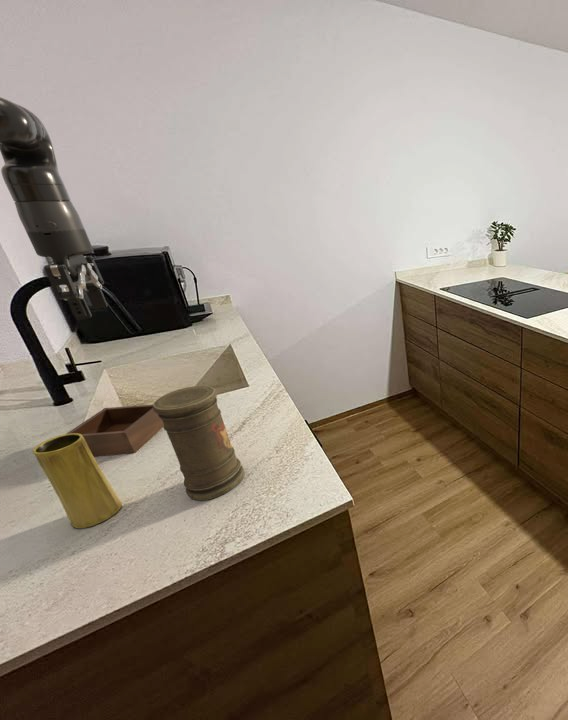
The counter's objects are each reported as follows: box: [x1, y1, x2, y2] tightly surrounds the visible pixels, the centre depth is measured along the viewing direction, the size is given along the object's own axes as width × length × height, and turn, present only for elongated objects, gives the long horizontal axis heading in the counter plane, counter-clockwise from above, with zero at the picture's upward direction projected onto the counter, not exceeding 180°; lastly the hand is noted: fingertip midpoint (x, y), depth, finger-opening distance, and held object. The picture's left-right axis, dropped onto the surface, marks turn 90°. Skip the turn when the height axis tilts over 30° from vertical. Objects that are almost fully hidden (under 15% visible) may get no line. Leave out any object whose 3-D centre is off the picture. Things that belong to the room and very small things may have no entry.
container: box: [152, 385, 245, 501], centre depth 65 cm, size 9×9×18 cm
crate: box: [66, 403, 164, 457], centre depth 80 cm, size 12×12×5 cm
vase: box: [32, 433, 123, 529], centre depth 59 cm, size 6×6×14 cm
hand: (93, 313), depth 75 cm, fingers open, 8 cm apart
